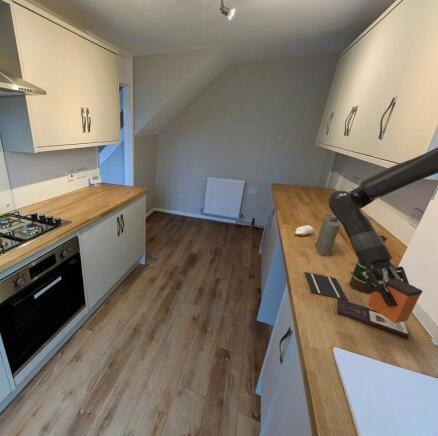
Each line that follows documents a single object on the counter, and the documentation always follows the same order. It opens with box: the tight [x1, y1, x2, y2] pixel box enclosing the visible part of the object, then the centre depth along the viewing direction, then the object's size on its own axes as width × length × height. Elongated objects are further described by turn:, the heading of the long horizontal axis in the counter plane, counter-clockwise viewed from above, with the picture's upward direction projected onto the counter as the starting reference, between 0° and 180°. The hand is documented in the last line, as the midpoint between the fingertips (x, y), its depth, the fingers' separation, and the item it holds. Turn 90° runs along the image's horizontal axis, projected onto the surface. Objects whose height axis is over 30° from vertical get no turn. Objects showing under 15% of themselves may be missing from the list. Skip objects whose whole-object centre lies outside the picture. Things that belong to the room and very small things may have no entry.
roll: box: [294, 224, 314, 237], centre depth 150 cm, size 6×12×6 cm, turn 116°
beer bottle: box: [349, 234, 388, 294], centre depth 96 cm, size 8×8×24 cm
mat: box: [304, 271, 349, 302], centre depth 101 cm, size 12×16×1 cm
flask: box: [315, 215, 341, 257], centre depth 128 cm, size 15×6×20 cm, turn 154°
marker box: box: [366, 278, 423, 323], centre depth 69 cm, size 5×8×10 cm, turn 12°
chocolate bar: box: [336, 298, 410, 339], centre depth 84 cm, size 9×1×18 cm
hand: (399, 304), depth 67 cm, fingers closed on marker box, 4 cm apart
